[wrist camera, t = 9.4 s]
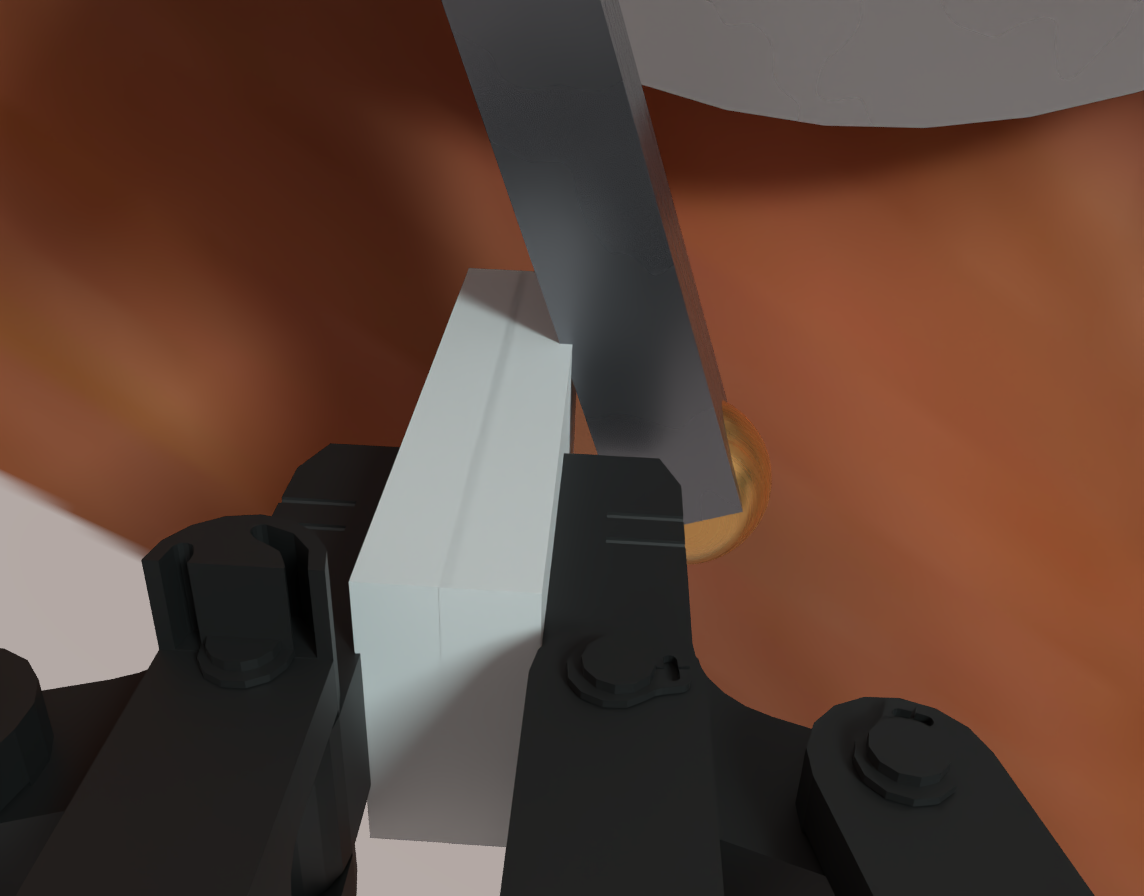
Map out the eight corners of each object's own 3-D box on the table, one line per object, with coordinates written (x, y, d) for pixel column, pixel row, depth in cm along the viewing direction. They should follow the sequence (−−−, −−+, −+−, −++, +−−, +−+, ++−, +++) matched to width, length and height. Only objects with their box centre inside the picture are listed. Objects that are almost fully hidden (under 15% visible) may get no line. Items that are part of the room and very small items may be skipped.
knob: (113, -606, 11) (-377, -987, 6) (620, -855, 10) (581, -1599, 5) (535, 490, 17) (483, 782, 12) (872, 413, 16) (974, 697, 11)
